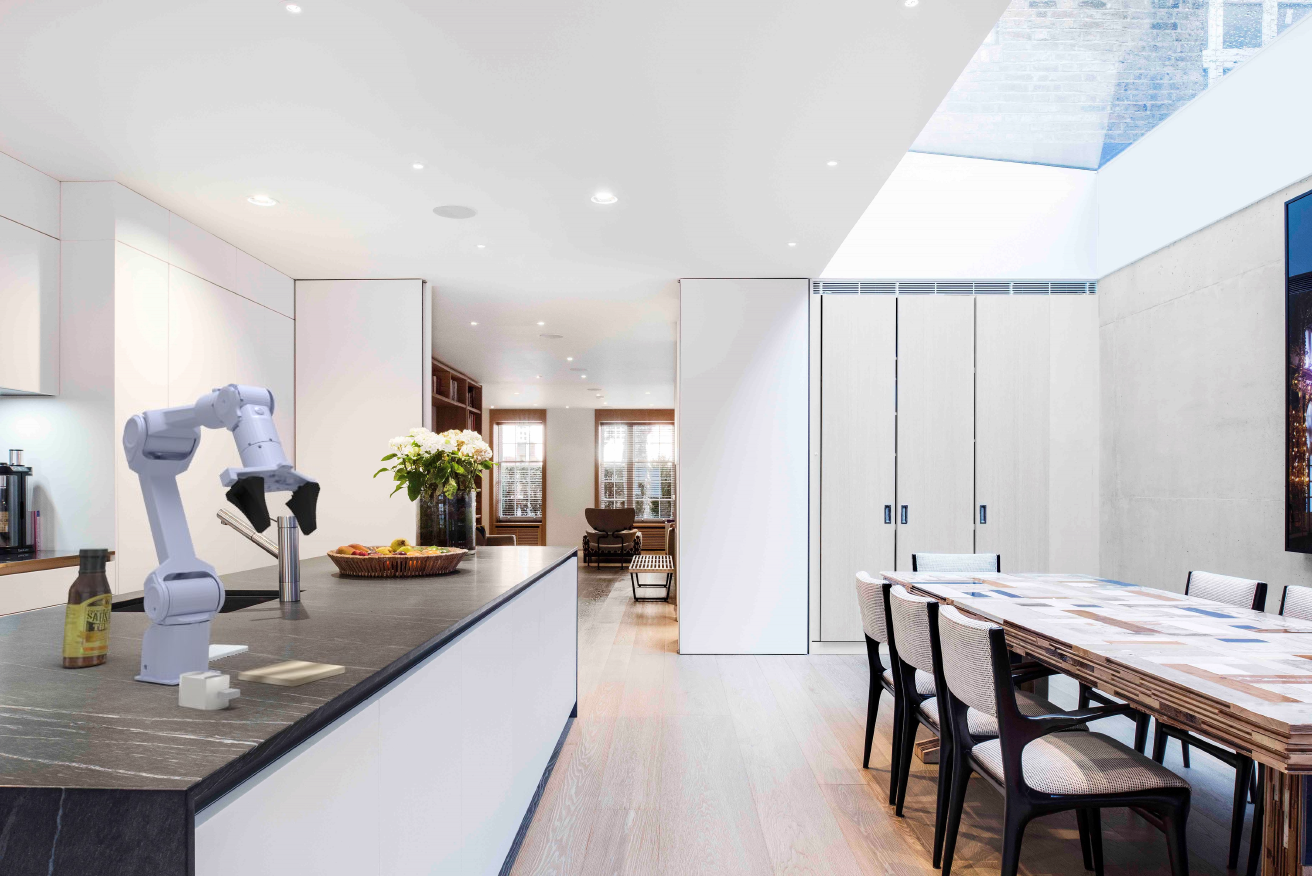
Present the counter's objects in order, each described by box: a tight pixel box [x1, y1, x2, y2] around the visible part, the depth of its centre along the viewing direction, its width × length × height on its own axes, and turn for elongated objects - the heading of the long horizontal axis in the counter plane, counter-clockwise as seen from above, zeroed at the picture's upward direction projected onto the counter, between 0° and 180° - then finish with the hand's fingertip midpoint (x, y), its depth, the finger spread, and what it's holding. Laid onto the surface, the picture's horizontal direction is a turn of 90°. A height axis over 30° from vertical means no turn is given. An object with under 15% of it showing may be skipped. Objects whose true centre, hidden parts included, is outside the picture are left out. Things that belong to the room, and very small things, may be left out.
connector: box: [178, 671, 241, 711], centre depth 101 cm, size 10×3×4 cm, turn 66°
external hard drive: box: [209, 643, 249, 662], centre depth 133 cm, size 2×8×12 cm
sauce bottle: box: [61, 547, 113, 668], centre depth 128 cm, size 6×6×20 cm
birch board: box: [237, 659, 346, 688], centre depth 118 cm, size 12×10×1 cm
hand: (288, 530), depth 105 cm, fingers open, 7 cm apart
